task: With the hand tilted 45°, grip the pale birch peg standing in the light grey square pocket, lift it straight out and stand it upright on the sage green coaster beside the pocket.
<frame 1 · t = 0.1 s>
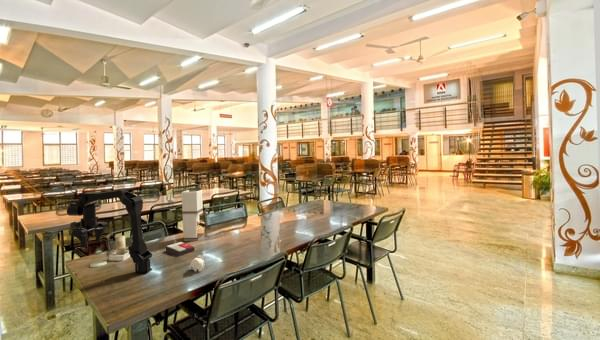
hand: (91, 244, 159), 15 cm above the table, tool pointing down, fingers open, 9 cm apart
calculator: (180, 252, 190), on the table
peg: (120, 247, 179), in the pocket
white rounded lump: (197, 270, 159), on the table
tall white pillar: (193, 238, 218), on the table
coaster: (98, 264, 169), on the table
pocket: (121, 257, 179), on the table
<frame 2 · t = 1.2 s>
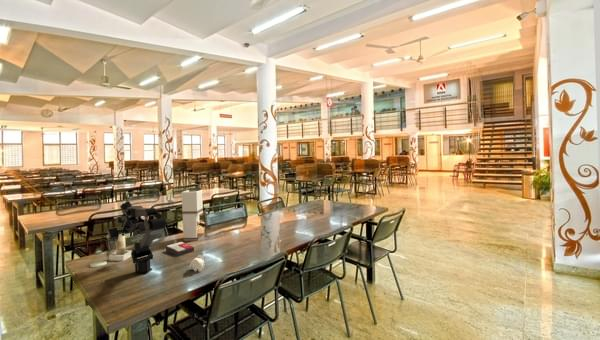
hand: (124, 238, 173), 13 cm above the table, tool tilted 45°, fingers open, 9 cm apart
nothing on the table moved.
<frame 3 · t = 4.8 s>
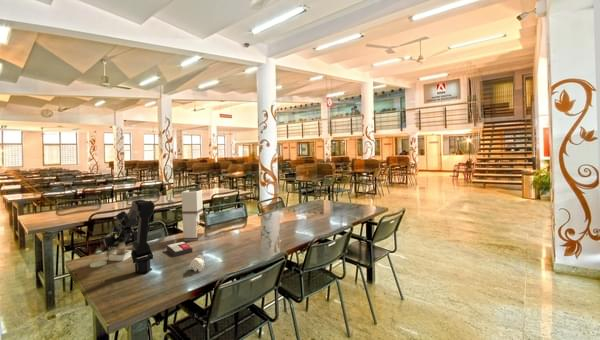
hand: (119, 246, 180), 7 cm above the table, tool tilted 45°, fingers closed on peg, 5 cm apart
peg: (120, 247, 179), in the pocket, touching gripper
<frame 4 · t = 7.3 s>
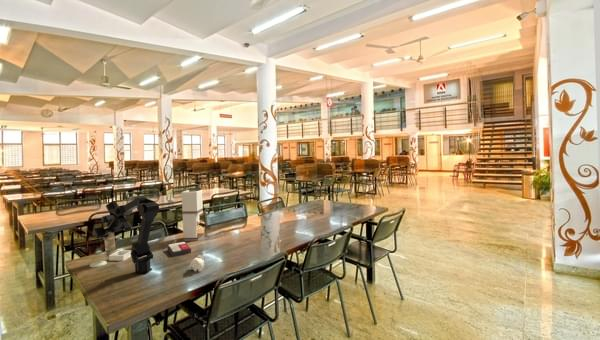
hand: (108, 237, 175), 13 cm above the table, tool tilted 45°, fingers closed on peg, 5 cm apart
peg: (109, 238, 174), point 13 cm above the table, touching gripper
when the fingers open (8 cm above the table, at t = 9.9 s): peg drops 1 cm, resting on coaster.
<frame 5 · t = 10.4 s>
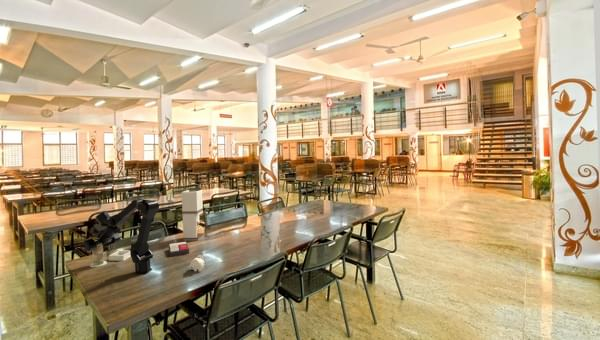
hand: (95, 249, 169), 9 cm above the table, tool tilted 45°, fingers open, 9 cm apart
peg: (97, 252, 169), on the coaster, point 7 cm above the table
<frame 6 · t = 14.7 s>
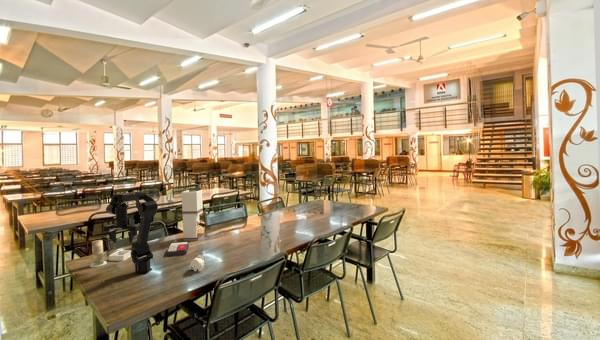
hand: (123, 242, 166), 13 cm above the table, tool pointing down, fingers open, 9 cm apart
at the end: peg 0.0 cm off-centre on the coaster, point 7.1 cm above the coaster's base; peg tilted 0°; the gripper is holding nothing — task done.
